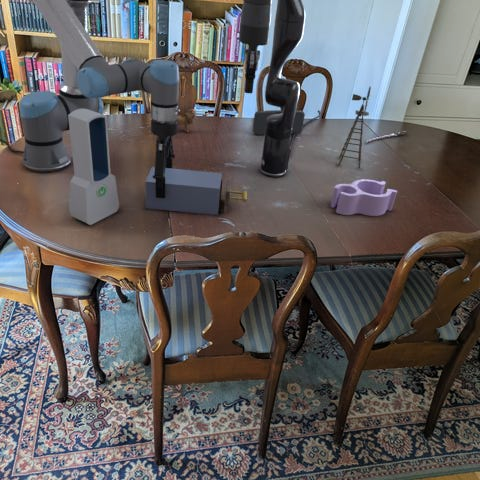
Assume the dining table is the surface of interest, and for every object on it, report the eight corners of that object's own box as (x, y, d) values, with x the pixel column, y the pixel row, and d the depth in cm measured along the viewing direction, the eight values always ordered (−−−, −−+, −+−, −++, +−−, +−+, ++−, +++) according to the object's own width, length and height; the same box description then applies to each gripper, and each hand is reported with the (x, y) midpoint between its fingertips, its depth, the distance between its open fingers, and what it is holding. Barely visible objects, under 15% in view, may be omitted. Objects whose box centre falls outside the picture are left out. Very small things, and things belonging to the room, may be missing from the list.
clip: (342, 219, 146) (347, 199, 142) (324, 200, 156) (328, 181, 152) (396, 213, 152) (402, 195, 148) (375, 196, 162) (380, 178, 158)
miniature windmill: (359, 169, 181) (379, 91, 164) (338, 165, 182) (355, 87, 165) (359, 160, 188) (378, 84, 172) (338, 156, 189) (355, 81, 173)
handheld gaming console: (299, 131, 211) (303, 109, 205) (302, 133, 208) (305, 111, 203) (251, 133, 203) (254, 110, 198) (254, 135, 201) (256, 112, 196)
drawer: (245, 199, 149) (248, 179, 145) (245, 214, 141) (247, 193, 137) (165, 191, 149) (165, 171, 145) (160, 206, 141) (160, 185, 137)
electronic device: (87, 227, 129) (77, 121, 112) (68, 218, 132) (56, 113, 115) (120, 210, 138) (114, 110, 122) (101, 202, 141) (94, 103, 125)
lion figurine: (194, 127, 202) (194, 107, 197) (197, 132, 198) (198, 111, 193) (160, 128, 197) (160, 107, 192) (163, 133, 193) (163, 112, 188)
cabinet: (220, 198, 150) (222, 173, 145) (217, 215, 141) (219, 188, 136) (152, 192, 149) (152, 166, 145) (145, 208, 140) (145, 181, 136)
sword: (403, 131, 224) (404, 129, 223) (408, 133, 222) (409, 131, 221) (360, 143, 208) (360, 140, 207) (365, 145, 206) (366, 142, 205)
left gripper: (171, 136, 121) (170, 208, 132) (183, 107, 141) (181, 171, 153) (142, 133, 120) (143, 205, 132) (158, 104, 141) (158, 169, 153)
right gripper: (271, 28, 111) (262, 100, 121) (269, 20, 123) (261, 87, 132) (239, 25, 111) (233, 98, 121) (241, 17, 122) (235, 84, 132)
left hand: (164, 187), depth 142 cm, fingers open, 13 cm apart
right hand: (248, 92), depth 126 cm, fingers closed
